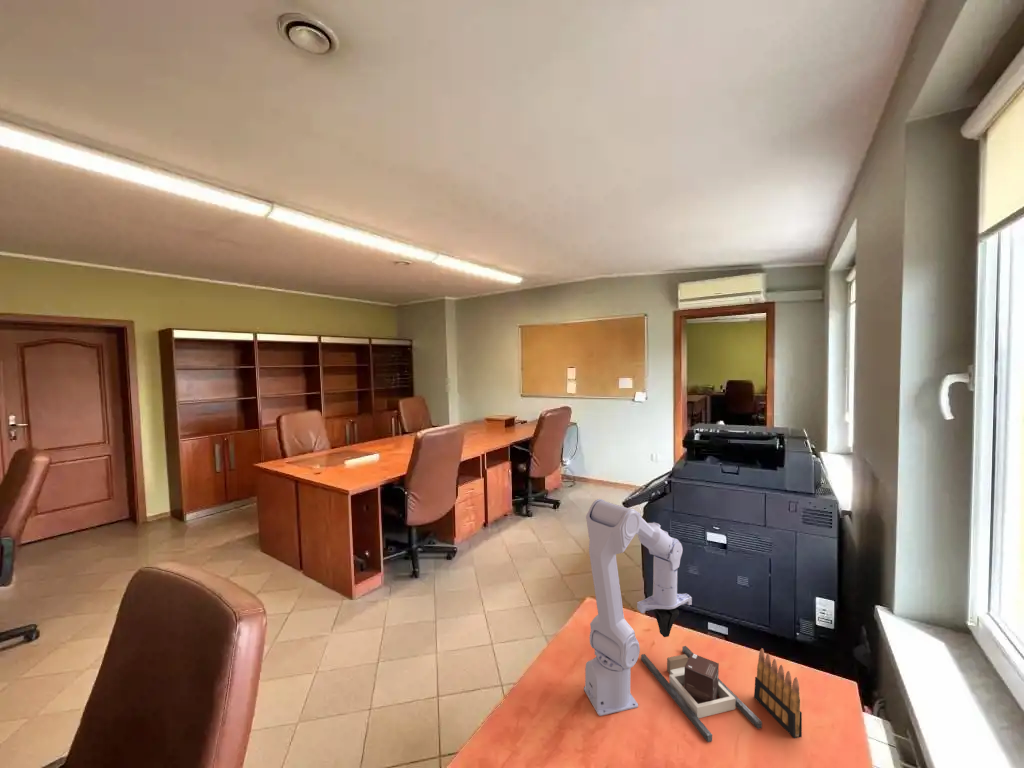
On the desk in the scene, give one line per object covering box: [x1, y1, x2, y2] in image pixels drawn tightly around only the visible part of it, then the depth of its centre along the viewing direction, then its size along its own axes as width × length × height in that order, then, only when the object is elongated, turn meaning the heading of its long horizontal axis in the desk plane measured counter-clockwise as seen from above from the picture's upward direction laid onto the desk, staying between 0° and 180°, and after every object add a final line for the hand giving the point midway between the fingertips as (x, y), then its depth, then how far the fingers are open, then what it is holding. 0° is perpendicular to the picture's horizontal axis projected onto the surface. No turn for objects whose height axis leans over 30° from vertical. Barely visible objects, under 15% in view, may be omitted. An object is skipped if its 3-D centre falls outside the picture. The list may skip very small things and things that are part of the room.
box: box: [683, 653, 720, 704], centre depth 95 cm, size 6×6×7 cm
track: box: [640, 645, 763, 743], centre depth 97 cm, size 13×24×2 cm, turn 15°
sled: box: [666, 653, 736, 719], centre depth 97 cm, size 10×14×3 cm
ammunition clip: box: [753, 647, 803, 739], centre depth 89 cm, size 11×2×12 cm, turn 11°
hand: (664, 634), depth 108 cm, fingers closed
